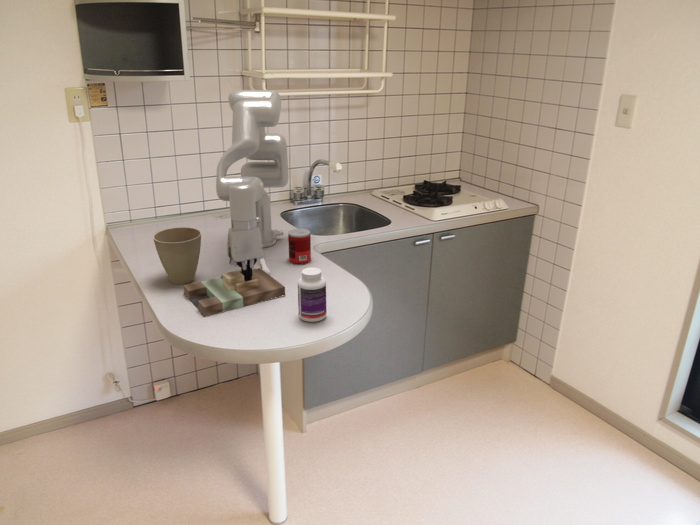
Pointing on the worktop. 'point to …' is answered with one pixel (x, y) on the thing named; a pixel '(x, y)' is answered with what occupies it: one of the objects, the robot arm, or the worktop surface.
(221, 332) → the worktop surface
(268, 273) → the white knobbed rod
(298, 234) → the canned food
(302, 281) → the pill bottle
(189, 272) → the plant pot
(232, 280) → the block
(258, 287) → the wooden block puzzle
